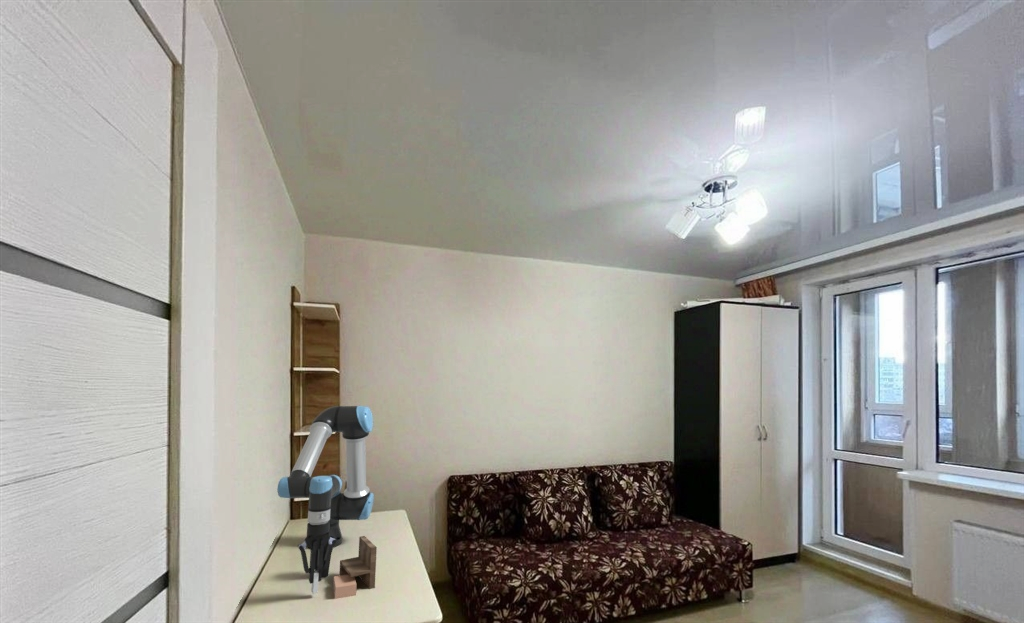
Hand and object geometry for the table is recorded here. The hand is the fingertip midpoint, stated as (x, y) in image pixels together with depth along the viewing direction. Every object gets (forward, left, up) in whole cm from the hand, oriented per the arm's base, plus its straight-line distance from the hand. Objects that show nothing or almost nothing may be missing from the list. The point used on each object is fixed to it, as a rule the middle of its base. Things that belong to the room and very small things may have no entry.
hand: (314, 591), depth 168 cm
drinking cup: (-17, +6, -2) cm, 18 cm away
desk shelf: (-3, +15, -2) cm, 16 cm away
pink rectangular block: (+1, +10, -2) cm, 10 cm away
